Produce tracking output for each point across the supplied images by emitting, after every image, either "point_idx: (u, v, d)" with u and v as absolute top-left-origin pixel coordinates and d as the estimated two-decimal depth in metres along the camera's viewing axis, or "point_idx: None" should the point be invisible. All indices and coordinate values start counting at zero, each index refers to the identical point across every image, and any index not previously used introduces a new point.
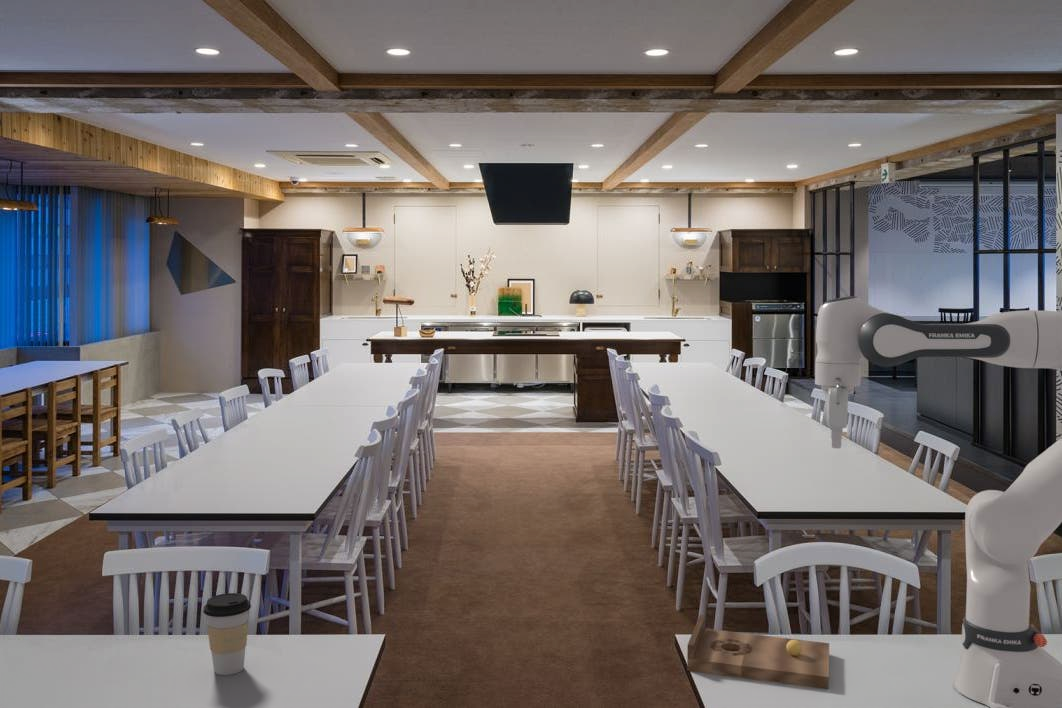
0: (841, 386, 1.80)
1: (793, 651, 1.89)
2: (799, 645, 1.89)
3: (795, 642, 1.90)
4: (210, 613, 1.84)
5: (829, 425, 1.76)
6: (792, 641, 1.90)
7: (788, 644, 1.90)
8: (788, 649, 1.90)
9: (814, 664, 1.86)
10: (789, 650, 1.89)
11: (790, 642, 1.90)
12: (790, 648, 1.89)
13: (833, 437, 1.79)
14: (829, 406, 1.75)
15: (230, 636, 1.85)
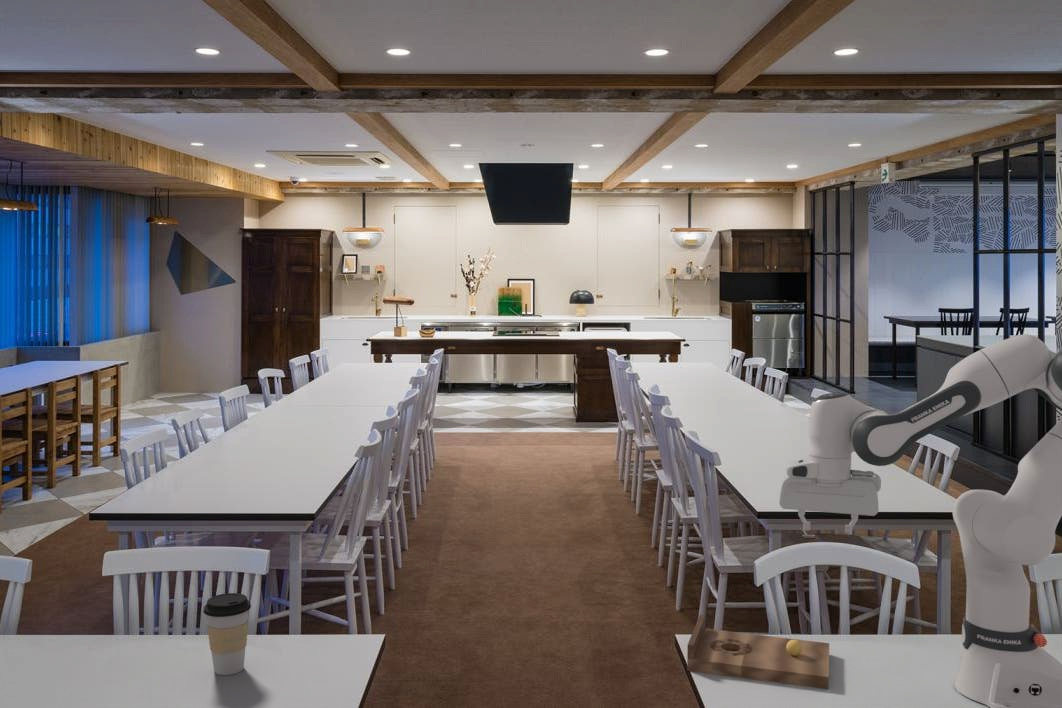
0: None
1: (793, 651, 1.89)
2: (799, 645, 1.89)
3: (795, 642, 1.90)
4: (210, 613, 1.84)
5: (876, 513, 1.89)
6: (792, 641, 1.90)
7: (788, 644, 1.90)
8: (788, 649, 1.90)
9: (814, 664, 1.86)
10: (789, 650, 1.89)
11: (790, 642, 1.90)
12: (790, 648, 1.89)
13: (854, 524, 1.92)
14: (877, 496, 1.89)
15: (230, 636, 1.85)
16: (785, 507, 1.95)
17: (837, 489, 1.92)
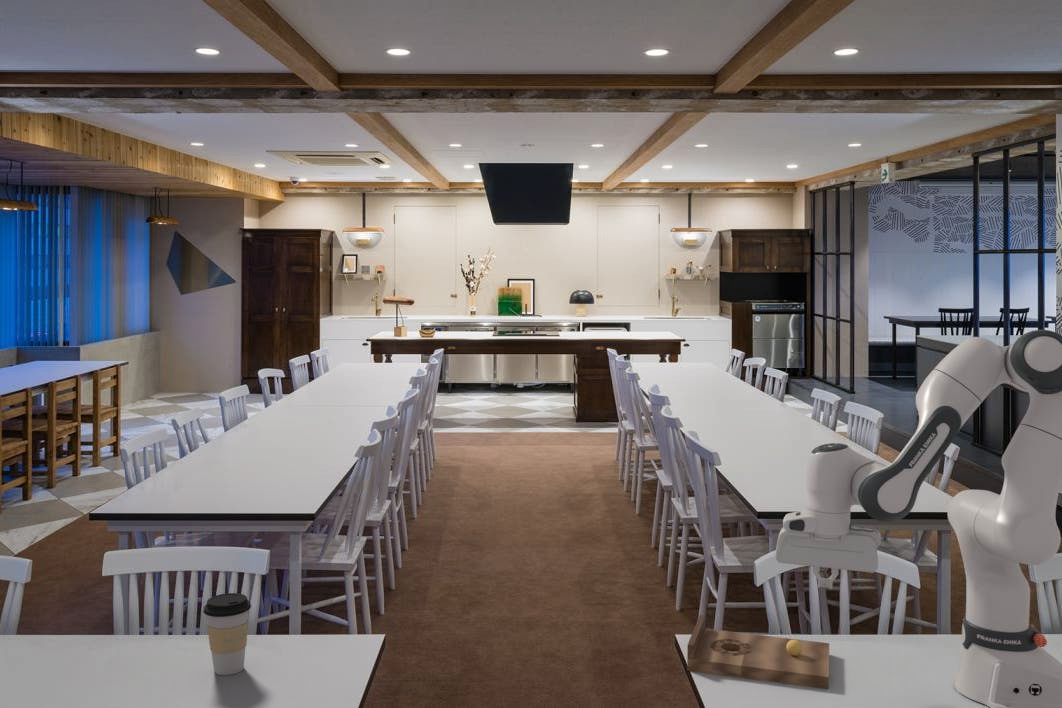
0: None
1: (793, 651, 1.89)
2: (799, 645, 1.89)
3: (795, 642, 1.90)
4: (210, 613, 1.84)
5: (875, 570, 1.83)
6: (792, 641, 1.90)
7: (788, 644, 1.90)
8: (788, 649, 1.90)
9: (814, 664, 1.86)
10: (789, 650, 1.89)
11: (790, 642, 1.90)
12: (790, 648, 1.89)
13: (834, 578, 1.86)
14: (876, 552, 1.82)
15: (230, 636, 1.85)
16: (781, 561, 1.88)
17: (835, 544, 1.85)
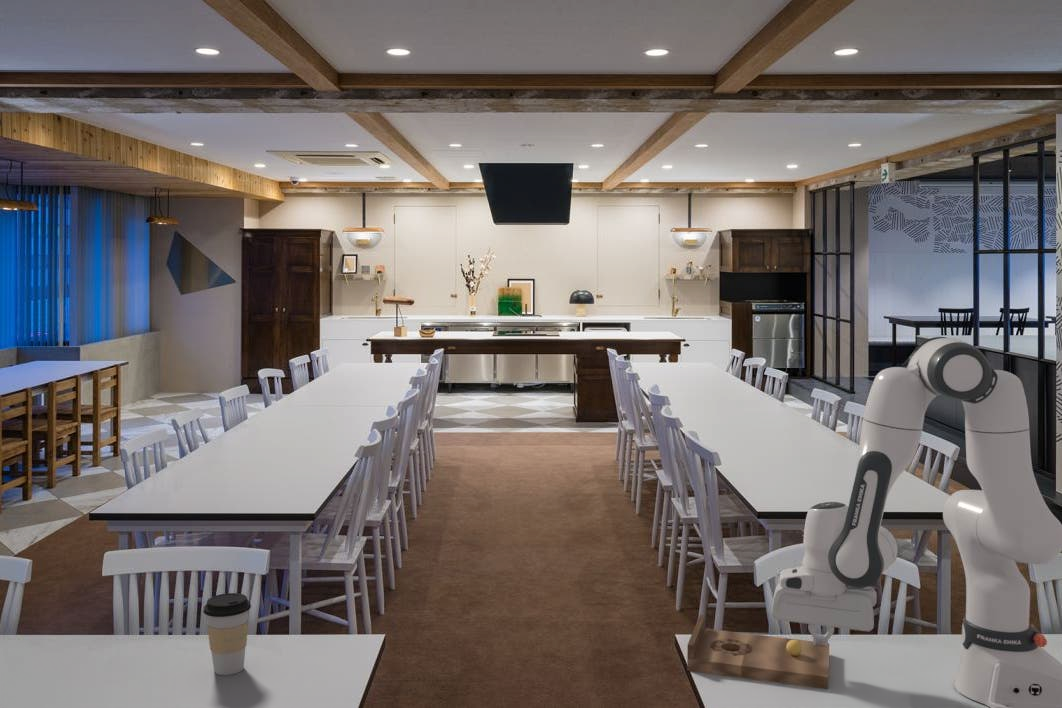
0: None
1: (793, 651, 1.89)
2: (799, 645, 1.89)
3: (795, 642, 1.90)
4: (210, 613, 1.84)
5: (871, 629, 1.83)
6: (792, 641, 1.90)
7: (788, 644, 1.90)
8: (788, 649, 1.90)
9: (814, 664, 1.86)
10: (789, 650, 1.89)
11: (790, 642, 1.90)
12: (790, 648, 1.89)
13: None
14: (872, 611, 1.83)
15: (230, 636, 1.85)
16: (777, 618, 1.88)
17: (832, 602, 1.85)
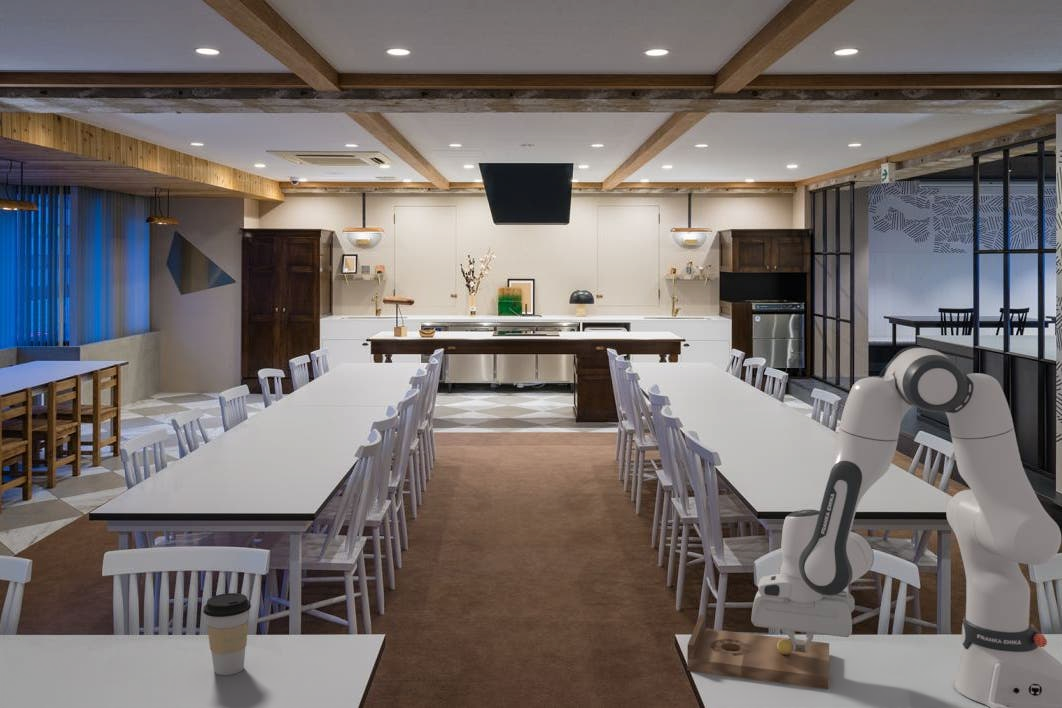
0: None
1: (784, 650, 1.89)
2: (782, 641, 1.90)
3: (778, 643, 1.91)
4: (210, 613, 1.84)
5: (849, 635, 1.85)
6: (777, 645, 1.91)
7: (779, 650, 1.90)
8: (782, 653, 1.90)
9: (814, 664, 1.86)
10: (783, 653, 1.90)
11: (777, 647, 1.91)
12: (781, 650, 1.90)
13: (809, 642, 1.89)
14: (850, 617, 1.85)
15: (230, 636, 1.85)
16: (757, 625, 1.91)
17: (810, 609, 1.87)
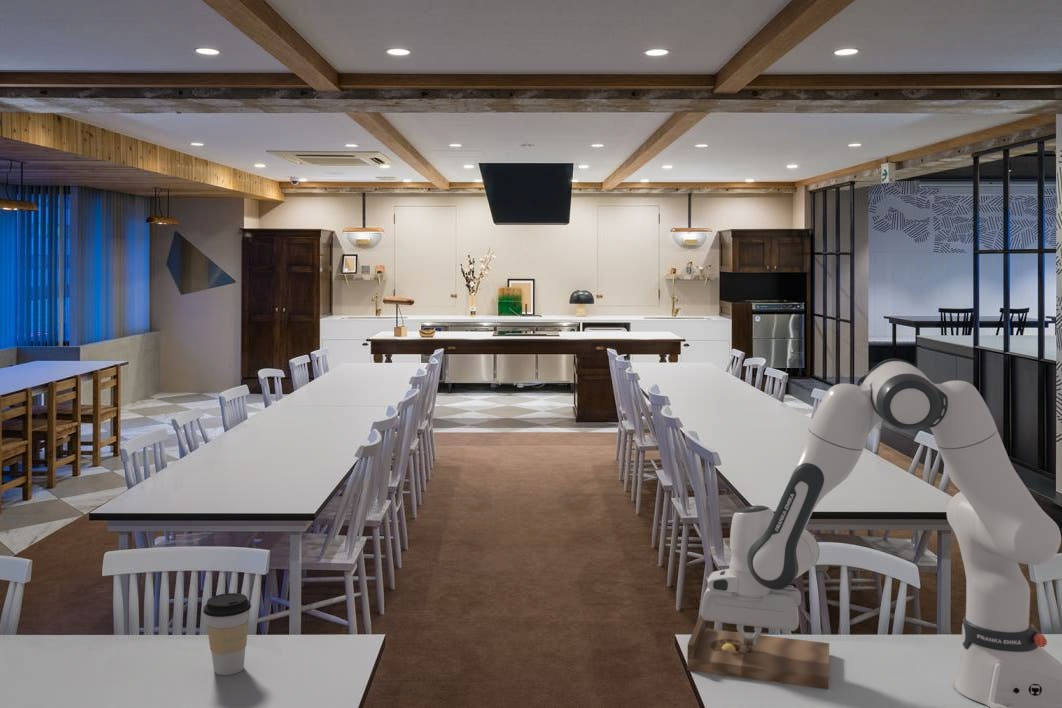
0: None
1: None
2: None
3: None
4: (210, 613, 1.84)
5: (795, 629, 1.88)
6: None
7: None
8: None
9: (814, 664, 1.86)
10: None
11: None
12: None
13: (757, 636, 1.92)
14: (796, 611, 1.88)
15: (230, 636, 1.85)
16: (707, 619, 1.94)
17: (758, 603, 1.90)
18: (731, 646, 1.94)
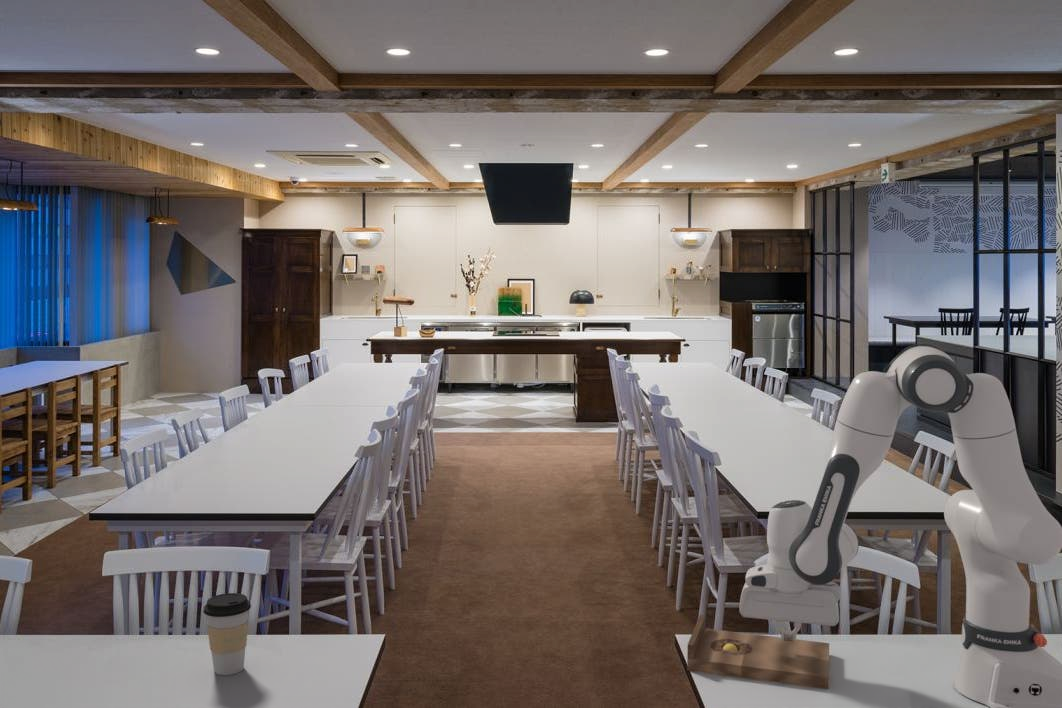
0: None
1: None
2: None
3: None
4: (210, 613, 1.84)
5: None
6: None
7: None
8: None
9: (814, 664, 1.86)
10: None
11: None
12: None
13: (797, 632, 1.90)
14: (836, 606, 1.86)
15: (230, 636, 1.85)
16: (745, 616, 1.93)
17: (797, 598, 1.89)
18: (734, 647, 1.94)
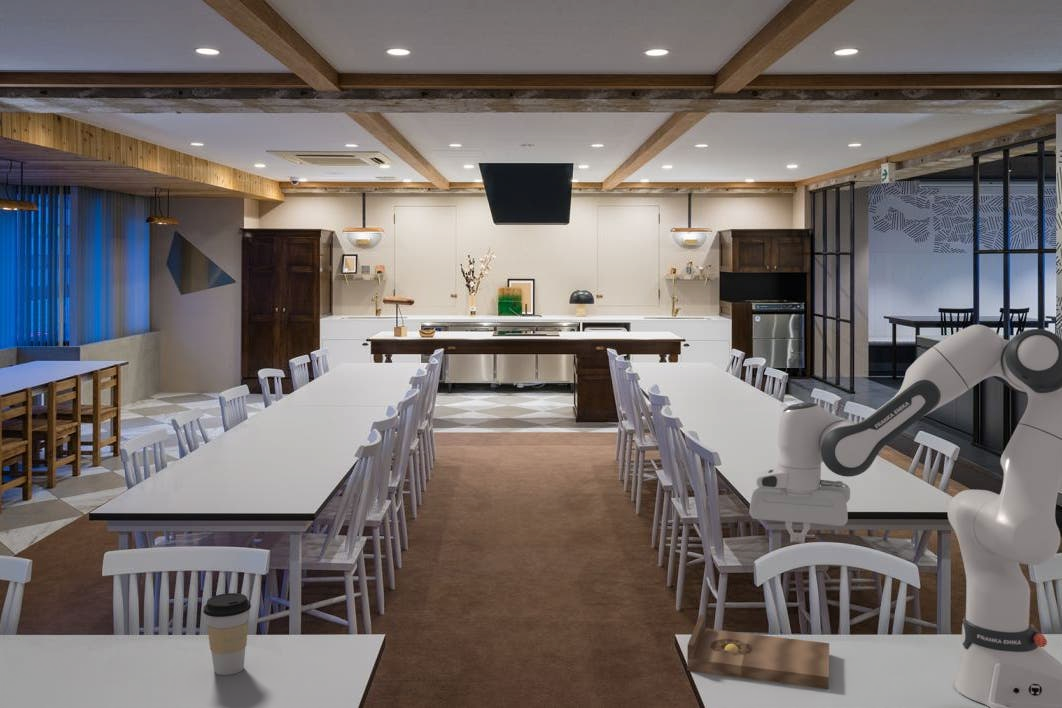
0: None
1: None
2: None
3: None
4: (210, 613, 1.84)
5: (845, 523, 1.90)
6: None
7: None
8: None
9: (814, 664, 1.86)
10: None
11: None
12: None
13: None
14: (846, 506, 1.89)
15: (230, 636, 1.85)
16: (755, 517, 1.95)
17: (807, 499, 1.92)
18: (737, 649, 1.94)
